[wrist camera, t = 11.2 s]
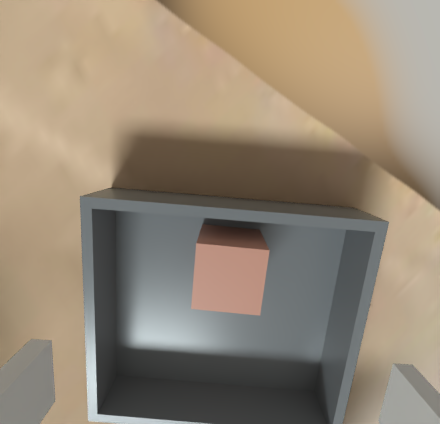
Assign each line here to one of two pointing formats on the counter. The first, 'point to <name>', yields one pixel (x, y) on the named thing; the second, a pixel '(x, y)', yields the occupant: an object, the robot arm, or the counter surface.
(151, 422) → the tote
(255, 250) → the cube
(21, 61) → the counter surface
